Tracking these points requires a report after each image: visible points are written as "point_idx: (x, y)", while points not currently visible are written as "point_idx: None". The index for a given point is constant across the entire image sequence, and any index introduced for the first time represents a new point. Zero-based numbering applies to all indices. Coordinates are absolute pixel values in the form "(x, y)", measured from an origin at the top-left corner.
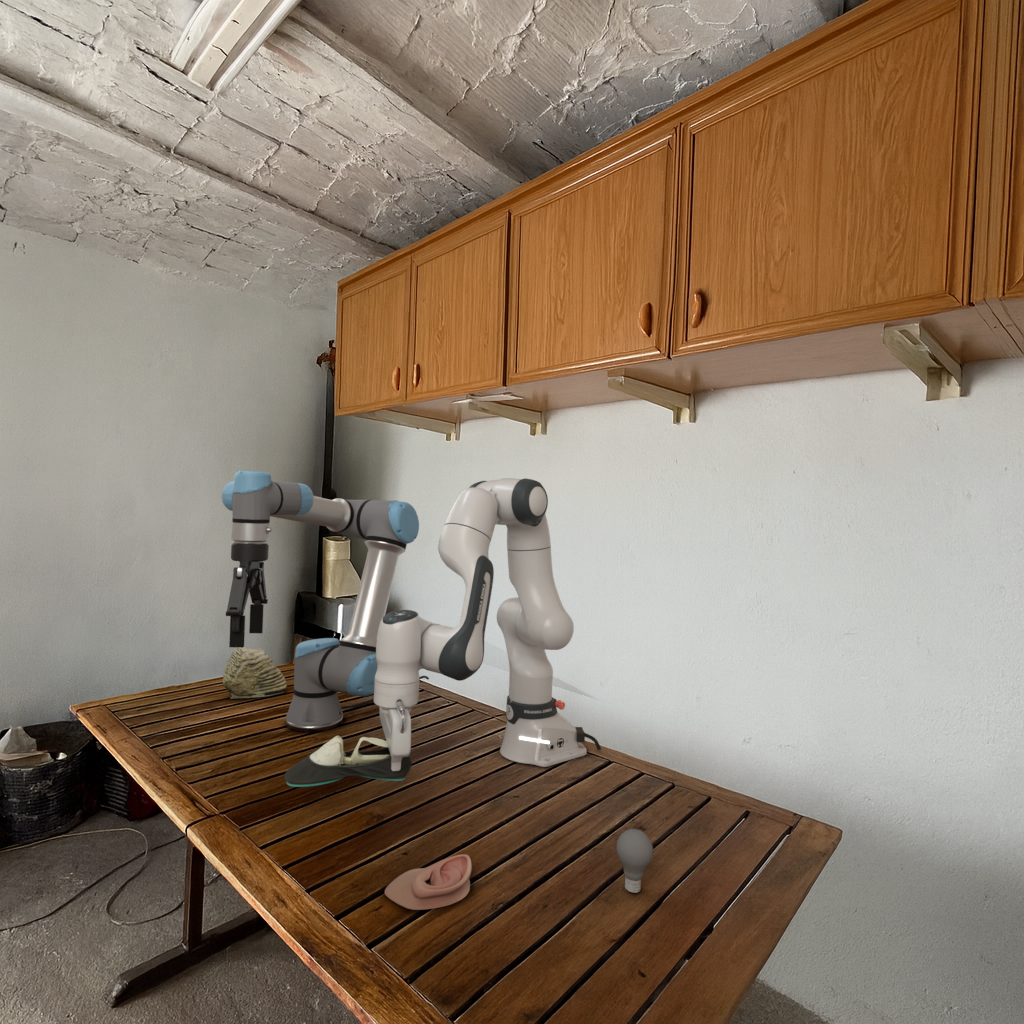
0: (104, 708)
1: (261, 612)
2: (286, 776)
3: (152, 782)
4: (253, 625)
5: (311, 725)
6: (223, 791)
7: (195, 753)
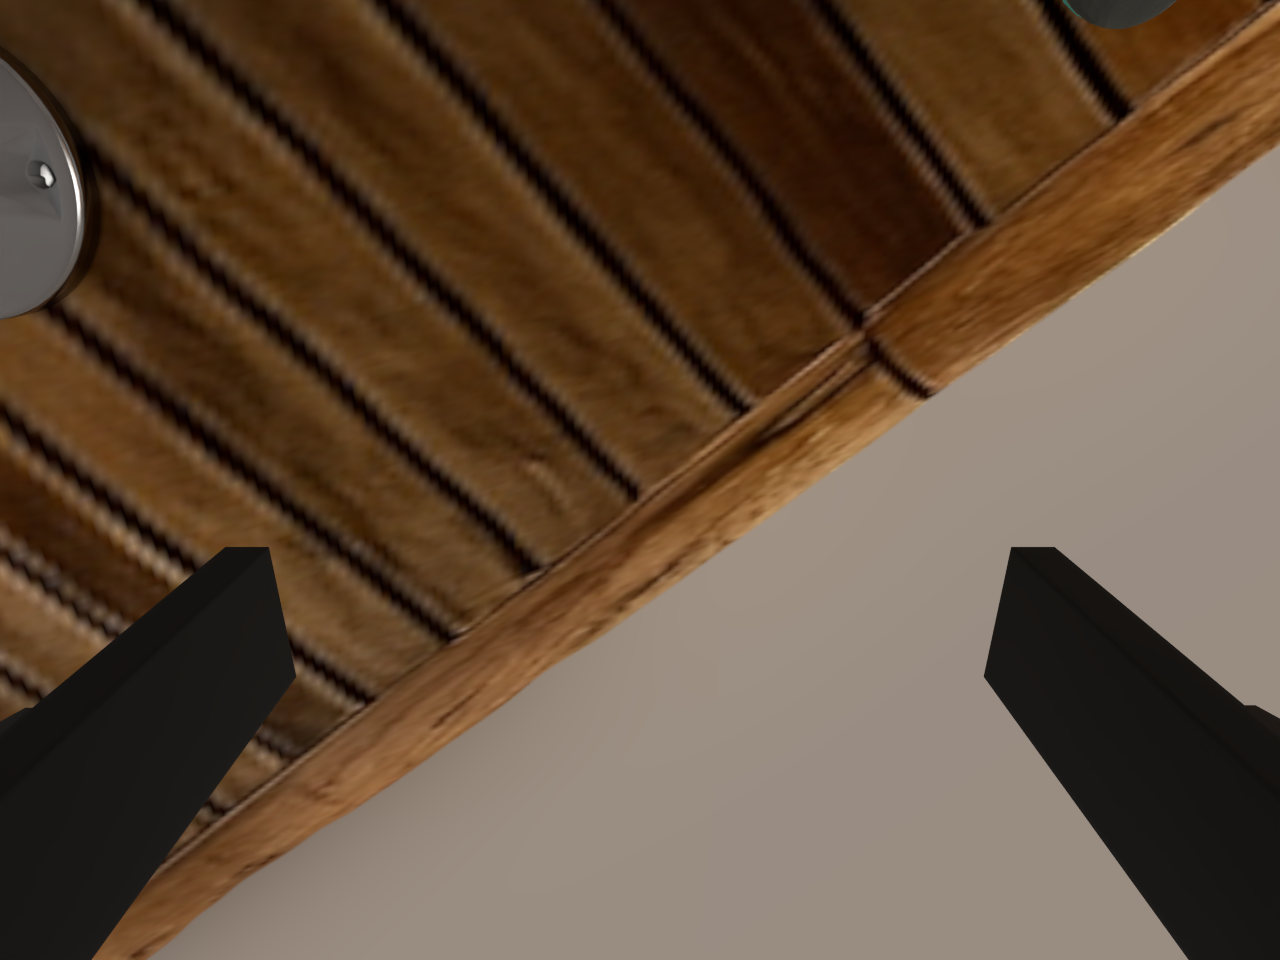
0: None
1: (61, 757)
2: (1164, 6)
3: (629, 601)
4: (234, 701)
5: (66, 162)
6: (701, 369)
7: (397, 560)
